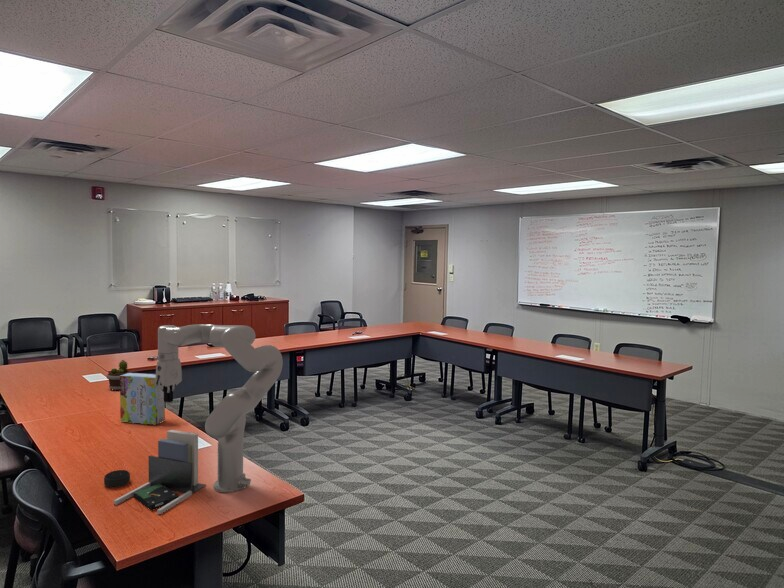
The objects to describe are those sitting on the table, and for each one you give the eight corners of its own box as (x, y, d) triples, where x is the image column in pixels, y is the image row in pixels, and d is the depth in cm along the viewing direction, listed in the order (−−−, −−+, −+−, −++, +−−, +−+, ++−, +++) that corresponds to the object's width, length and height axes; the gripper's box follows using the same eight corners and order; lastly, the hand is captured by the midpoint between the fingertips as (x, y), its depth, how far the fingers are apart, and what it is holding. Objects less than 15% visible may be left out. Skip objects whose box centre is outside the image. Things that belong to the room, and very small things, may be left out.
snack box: (166, 421, 274) (166, 374, 272) (155, 426, 265) (155, 377, 264) (130, 418, 278) (129, 371, 276) (119, 422, 269) (118, 375, 267)
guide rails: (191, 494, 190) (191, 490, 190) (160, 514, 175) (160, 510, 175) (148, 485, 197) (148, 482, 196) (113, 504, 181) (113, 500, 181)
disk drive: (179, 502, 186) (160, 489, 195) (179, 495, 185) (160, 482, 195) (151, 512, 178) (132, 498, 187) (151, 505, 177) (132, 491, 187)
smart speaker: (119, 490, 193) (119, 479, 193) (98, 487, 194) (98, 477, 194) (135, 480, 202) (134, 470, 201) (115, 478, 203) (115, 468, 203)
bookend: (206, 485, 198) (206, 455, 198) (191, 494, 190) (191, 463, 189) (164, 477, 204) (164, 448, 204) (148, 486, 196) (148, 455, 196)
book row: (198, 483, 199) (198, 433, 198) (184, 491, 192) (184, 440, 191) (171, 478, 203) (171, 429, 202) (157, 486, 196) (157, 435, 195)
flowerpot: (118, 393, 326) (118, 362, 325) (101, 390, 332) (100, 360, 330) (137, 388, 340) (137, 358, 339) (120, 385, 345) (120, 356, 344)
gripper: (161, 360, 194) (162, 407, 195) (188, 354, 208) (188, 397, 209) (146, 358, 196) (146, 405, 197) (174, 352, 210) (174, 395, 211)
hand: (168, 401), depth 203 cm, fingers closed
